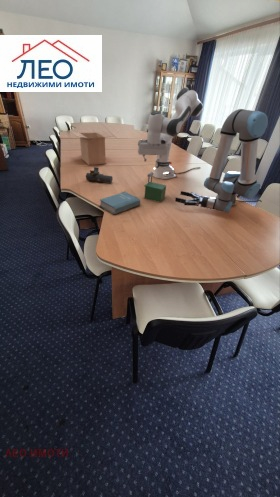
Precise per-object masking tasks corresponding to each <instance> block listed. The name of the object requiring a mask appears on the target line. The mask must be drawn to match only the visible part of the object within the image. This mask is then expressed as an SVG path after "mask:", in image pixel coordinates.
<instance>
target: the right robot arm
mask: <svg viewBox="0 0 280 497" xmlns="http://www.w3.org/2000/svg"><path fill="white" fill-rule="evenodd" d="M268 124H269V119H268V115H267V114H266V113H265V112H263V111H260V110H251V109H244V108H238V109H235V110H233V111H232V112H231V113H229V115H228V116H227V117H226V119H225V120H224V122H223V124H222V125H221V128H220V132H219V135H220V139H219V142H218V145H217V149H216V152H215V156H214V159H213V163H212V166H211V170H210V173H209V176H208V177H206V178H205V180H204V181H203V187H204V188H205V189H206V190H208V191H210V192H212V193H215V194H216V196H215V197H212V196H210V197H209V196H206V195H200V194H199V193H196V192H193V191H191V192H188V191H184V190H180V194H179V195H181V196H184V197H189V198H192V199H185V198H181V197H176V196H175V198H174V202H176V203H179V204H183V206H192V207H193V206H194V207H199V206H200V207H201V208H204V209H208V210H212V211H213V210H214V211H217V212H221V213H230V211H231V209H232V207H234V206H236V204H237V202H239V203H256V202H261V203H262V200H261V199H257V200H250V199H252V198H254V197H255V196H256V195H257V194H258V193H259V191H260V189H261V183H260V182H258V176H257V175H256V165H257V156H258V155H257V154H258V143H259V140H260V139H261V138H262V136H263V135H264V134H265V132H266V129H267V128H268ZM237 135H238V141H239V142H240V143H241V146H240V148H241V149H240V171H233V170H231V171H226V172H225V173H224V176H223V179H222V182H221V178H222V175H223V172H224V169H225V166H226V162H227V160H228V158H229V154H230V151H231V148H232V144H233V141H234V139H235V138H236V137H237ZM237 195H239V196H240V197H242V198H244V199H248V200H239V199H237V198H236V197H237Z"/></svg>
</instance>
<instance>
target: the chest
mask: <svg viewBox="0 0 280 497" xmlns="http://www.w3.org/2000/svg"><path fill="white" fill-rule="evenodd" d="M166 191H167V186H166V187H165V188H164V189H163V190H157V189H153V188H149V187H144V199H146V200H149V201H154V202H157V203H161V202H163V200H164V199H165V198H166Z"/></svg>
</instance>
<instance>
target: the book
mask: <svg viewBox="0 0 280 497" xmlns="http://www.w3.org/2000/svg"><path fill="white" fill-rule="evenodd" d="M99 201H100V205H99V207H101V208H103V209H104V210H105V211H107V212H109V213H111V214H113V215H116V214H119V213H122V212H124V211H128V210H130V209H132V208H133V209H134V208H135V207H138V206H140V205H141V198H139V197H137V196H135V195H133V194H131V193H128V192H126V191H122V192H119V193H116V194H113V195H110V196H106V197H104V198H100V199H99Z"/></svg>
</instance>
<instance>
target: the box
mask: <svg viewBox="0 0 280 497" xmlns="http://www.w3.org/2000/svg"><path fill="white" fill-rule="evenodd" d="M70 133H71V134H72V135H74V136H75V137H77V138H79V144H80V153H81V160H83V162H85V163H86V165H87V166H95V165H97V166H98V165H106V163H107V162H106V158H107V157H106V138H113V137H114V136H113V135H111V134H109V133H108V132H105V131H98V132H96V131H95V130H92V129H91V130H77V132H76V131H70Z"/></svg>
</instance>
